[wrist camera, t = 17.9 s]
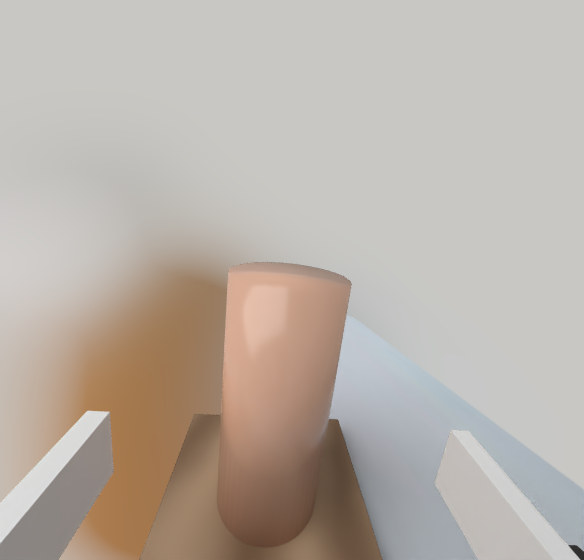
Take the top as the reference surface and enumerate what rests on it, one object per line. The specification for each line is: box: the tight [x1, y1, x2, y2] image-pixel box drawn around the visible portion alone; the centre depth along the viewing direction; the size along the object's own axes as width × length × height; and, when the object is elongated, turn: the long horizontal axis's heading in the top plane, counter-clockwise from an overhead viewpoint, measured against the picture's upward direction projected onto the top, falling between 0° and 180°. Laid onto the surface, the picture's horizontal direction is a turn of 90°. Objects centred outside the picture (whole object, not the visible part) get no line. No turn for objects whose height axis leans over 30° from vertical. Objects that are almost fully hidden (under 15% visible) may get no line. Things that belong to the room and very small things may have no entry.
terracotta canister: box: [217, 262, 351, 548], centre depth 18 cm, size 7×7×16 cm
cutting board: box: [139, 414, 382, 560], centre depth 20 cm, size 14×14×2 cm
